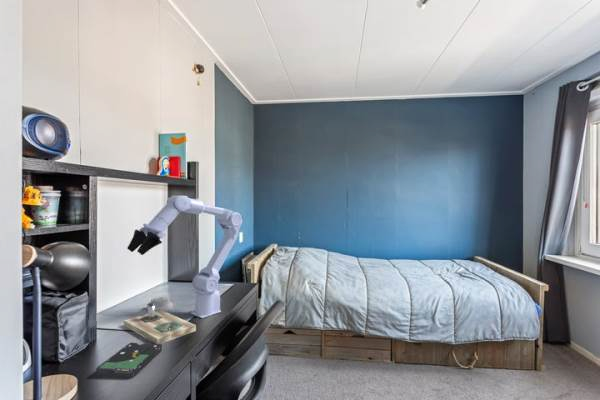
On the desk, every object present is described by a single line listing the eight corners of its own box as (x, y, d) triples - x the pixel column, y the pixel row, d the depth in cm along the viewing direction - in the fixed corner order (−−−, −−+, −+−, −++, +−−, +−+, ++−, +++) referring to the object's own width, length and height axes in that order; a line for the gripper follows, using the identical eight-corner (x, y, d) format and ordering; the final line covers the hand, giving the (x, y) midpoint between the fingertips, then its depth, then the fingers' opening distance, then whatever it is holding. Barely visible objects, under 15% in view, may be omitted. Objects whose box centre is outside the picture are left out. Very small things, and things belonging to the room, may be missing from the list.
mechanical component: (162, 303, 137) (142, 310, 128) (162, 293, 137) (142, 299, 128) (178, 307, 132) (157, 314, 124) (178, 297, 132) (158, 303, 124)
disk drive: (129, 351, 94) (94, 378, 79) (129, 342, 94) (95, 367, 79) (162, 352, 93) (133, 380, 78) (162, 343, 93) (134, 369, 78)
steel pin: (152, 322, 115) (153, 301, 115) (156, 323, 113) (157, 303, 113) (145, 324, 113) (146, 303, 113) (149, 326, 111) (149, 305, 111)
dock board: (161, 315, 122) (161, 309, 122) (195, 330, 108) (196, 324, 108) (124, 325, 111) (124, 319, 111) (157, 345, 97) (157, 337, 97)
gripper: (144, 212, 113) (116, 242, 106) (164, 215, 104) (135, 247, 97) (157, 224, 117) (131, 253, 110) (177, 228, 108) (151, 260, 101)
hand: (134, 251), depth 104 cm, fingers open, 7 cm apart
